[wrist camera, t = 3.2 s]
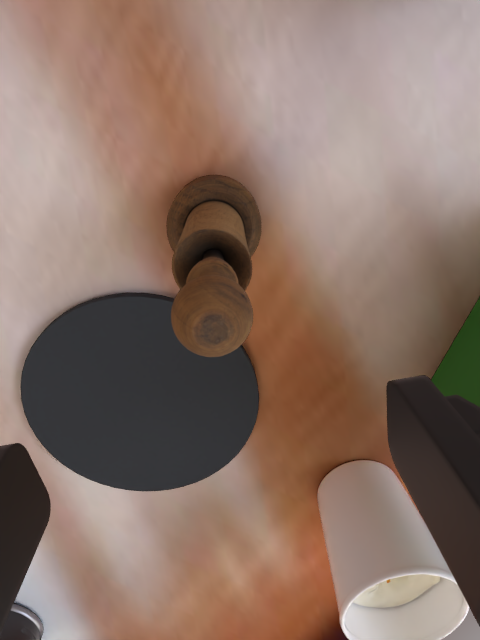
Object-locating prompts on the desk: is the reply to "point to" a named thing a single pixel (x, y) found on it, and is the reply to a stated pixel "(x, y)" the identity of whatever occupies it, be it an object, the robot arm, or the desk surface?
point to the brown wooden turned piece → (213, 263)
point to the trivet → (135, 396)
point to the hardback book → (462, 362)
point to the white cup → (384, 558)
